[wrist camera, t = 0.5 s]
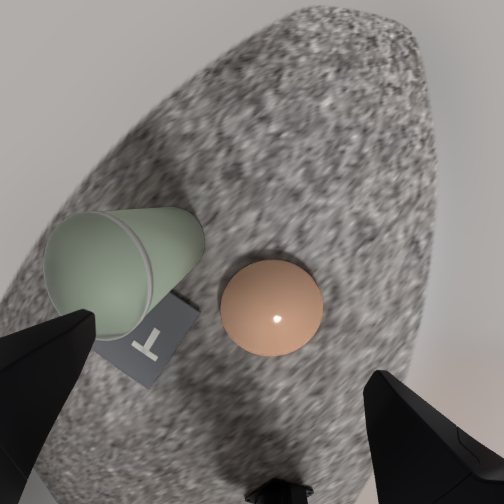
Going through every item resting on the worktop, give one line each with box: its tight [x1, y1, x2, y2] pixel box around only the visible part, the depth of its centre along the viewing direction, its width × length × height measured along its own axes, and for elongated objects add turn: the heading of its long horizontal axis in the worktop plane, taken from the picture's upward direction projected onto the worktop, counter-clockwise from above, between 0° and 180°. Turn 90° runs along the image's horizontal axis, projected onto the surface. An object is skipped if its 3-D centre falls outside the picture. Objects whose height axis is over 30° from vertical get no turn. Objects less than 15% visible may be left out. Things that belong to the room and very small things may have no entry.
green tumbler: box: [43, 207, 205, 341], centre depth 17 cm, size 6×6×12 cm
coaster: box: [220, 259, 323, 356], centre depth 23 cm, size 8×8×1 cm
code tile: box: [92, 291, 200, 389], centre depth 24 cm, size 10×8×1 cm
